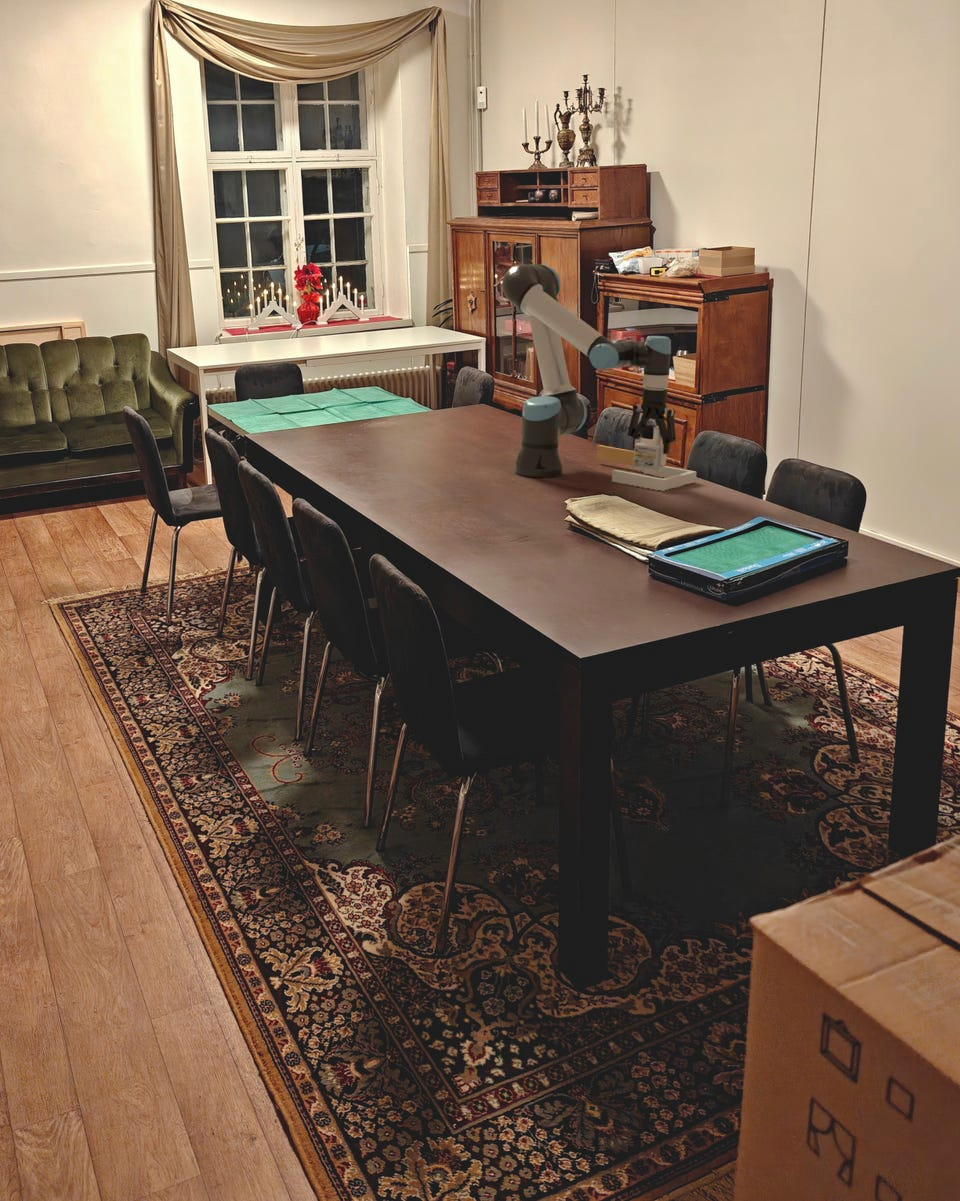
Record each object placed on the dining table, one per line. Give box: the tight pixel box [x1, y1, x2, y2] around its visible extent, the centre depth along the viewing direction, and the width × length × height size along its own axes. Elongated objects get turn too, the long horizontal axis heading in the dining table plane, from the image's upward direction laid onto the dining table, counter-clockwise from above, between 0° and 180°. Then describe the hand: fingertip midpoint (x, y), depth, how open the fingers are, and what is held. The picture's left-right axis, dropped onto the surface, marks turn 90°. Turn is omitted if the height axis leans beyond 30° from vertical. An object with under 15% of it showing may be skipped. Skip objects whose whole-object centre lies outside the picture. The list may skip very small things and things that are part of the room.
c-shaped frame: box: [611, 465, 698, 492], centre depth 354 cm, size 19×18×4 cm
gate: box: [596, 444, 634, 467], centre depth 373 cm, size 20×2×6 cm, turn 49°
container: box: [633, 424, 666, 471], centre depth 353 cm, size 8×8×13 cm
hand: (649, 461), depth 354 cm, fingers closed on container, 9 cm apart
